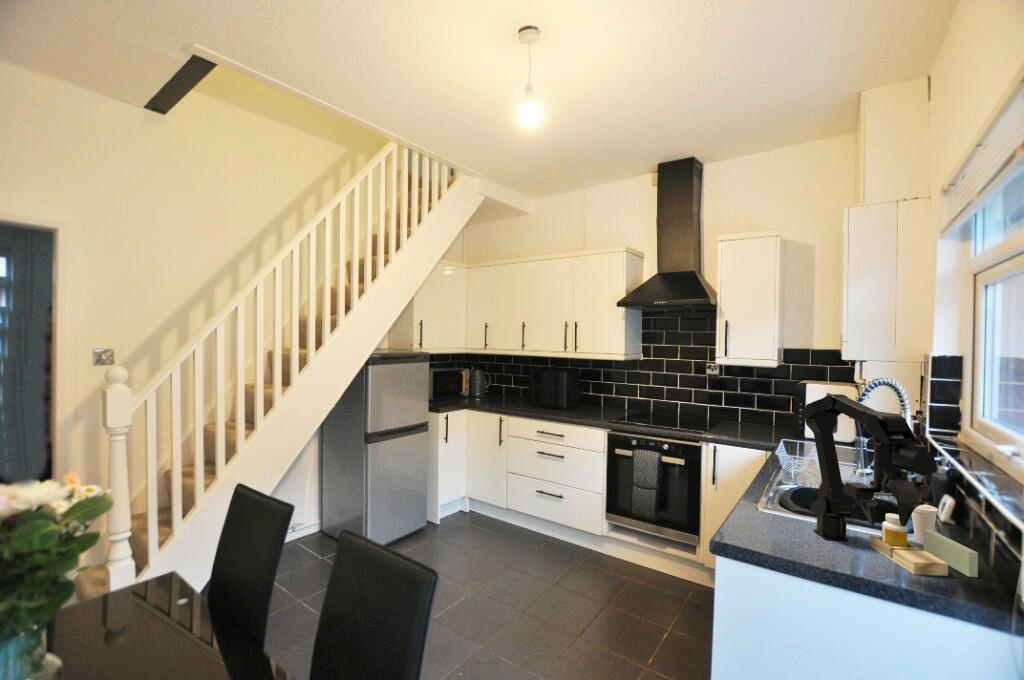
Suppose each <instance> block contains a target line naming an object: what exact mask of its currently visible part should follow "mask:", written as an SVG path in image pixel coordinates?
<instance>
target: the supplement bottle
mask: <svg viewBox="0 0 1024 680" xmlns="http://www.w3.org/2000/svg"><path fill="white" fill-rule="evenodd" d="M881 536H882V541H883V542H885V543H887V544H888V545H890V546H893V547H907V541H908V527H907V525H906V526H905V527H903V526H901V525H900V521H899V514H896V513H890V512H888V513H885V521H882V524H881Z"/></svg>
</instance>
